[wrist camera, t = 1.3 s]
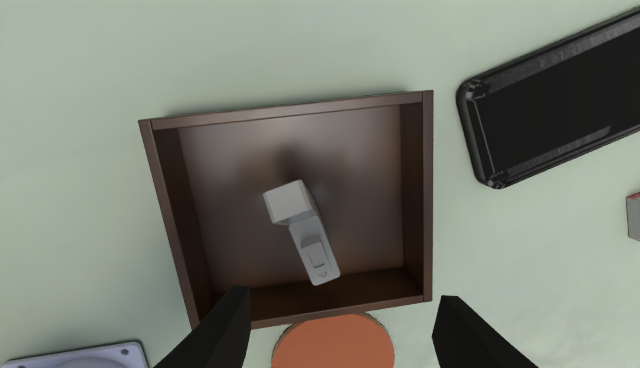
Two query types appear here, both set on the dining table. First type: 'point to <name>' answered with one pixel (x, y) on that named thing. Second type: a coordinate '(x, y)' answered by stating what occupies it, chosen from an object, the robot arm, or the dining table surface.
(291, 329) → the coaster
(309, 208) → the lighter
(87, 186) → the dining table surface
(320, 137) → the tray
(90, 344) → the dining table surface
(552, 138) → the phone
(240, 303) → the robot arm
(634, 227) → the milk carton
